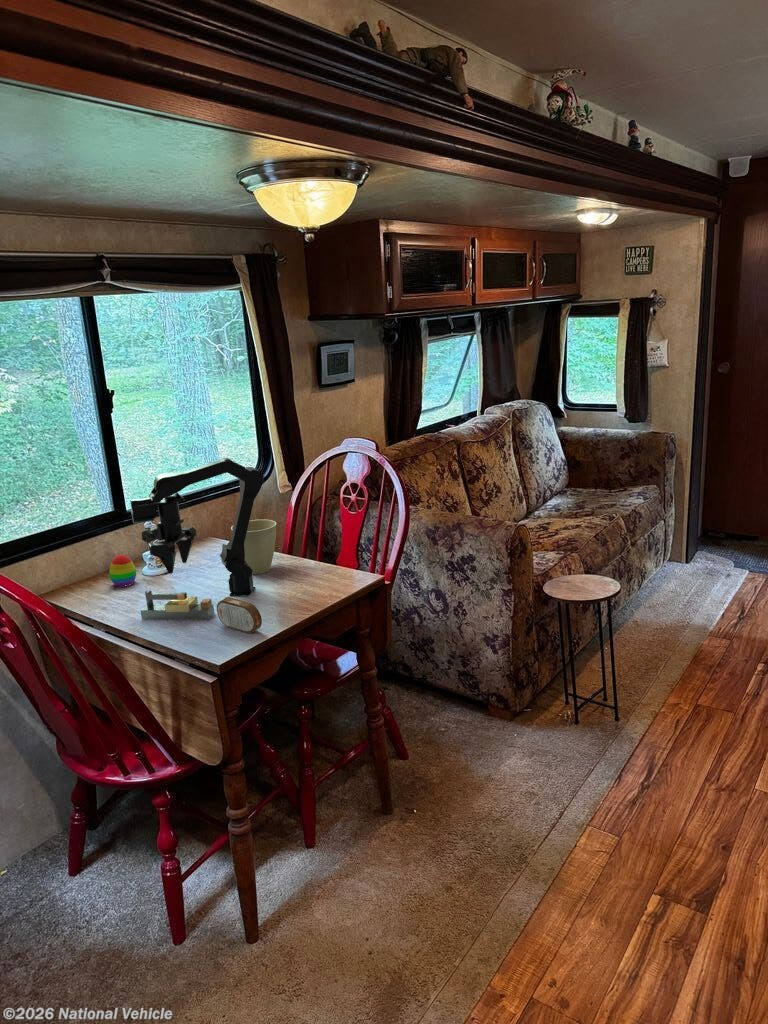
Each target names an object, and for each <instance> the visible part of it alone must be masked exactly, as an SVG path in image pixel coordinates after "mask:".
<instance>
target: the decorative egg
mask: <svg viewBox="0 0 768 1024" xmlns="http://www.w3.org/2000/svg"><path fill="white" fill-rule="evenodd" d="M136 569H137V568H136V566H135V564H134V562H133V560H132V559H130V557H128V556H126V555H124V554H119V555H116V556H115V557H114V558H113V560H111V563H110V566H109V578H110V580H111V582H112V584H114V585H115V586H116V585H117V586H116V587H118V586H124V587H126V586H125V585H129V584H131V585H133V584H134V583H135V581H136V578H137V570H136ZM132 583H133V584H132ZM129 586H130V585H129Z"/></svg>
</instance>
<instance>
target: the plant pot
mask: <svg viewBox="0 0 768 1024" xmlns="http://www.w3.org/2000/svg"><path fill="white" fill-rule="evenodd" d="M233 526H234V524H233V525H232V526H231V527H230V529H231V531H232V530H233ZM276 539H277V522H276V521H275V520H271V519H252V520H249V525H248V529H247V534H246V538H245V542H244V550H245V561H246V562H247V564H248V565H249V566H250V567H251V568H252V570H253V571H252V575H258V574H265V573H268V572H269V571H270V570H271V567H272V563H273V558H274V553H275V547H276Z"/></svg>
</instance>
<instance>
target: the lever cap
mask: <svg viewBox="0 0 768 1024" xmlns="http://www.w3.org/2000/svg"><path fill="white" fill-rule="evenodd" d="M164 604H165V611H166V612H190V611H191V610H192V609H193V607H194V606H195V605H196V604H199V600H198V596H194V595H193V596H192V595H191V596H188V595H187V598H186V599H185V600H168V601H167V602H166V603H164Z"/></svg>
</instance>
